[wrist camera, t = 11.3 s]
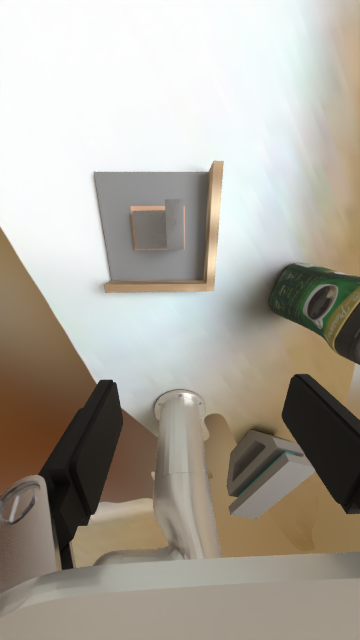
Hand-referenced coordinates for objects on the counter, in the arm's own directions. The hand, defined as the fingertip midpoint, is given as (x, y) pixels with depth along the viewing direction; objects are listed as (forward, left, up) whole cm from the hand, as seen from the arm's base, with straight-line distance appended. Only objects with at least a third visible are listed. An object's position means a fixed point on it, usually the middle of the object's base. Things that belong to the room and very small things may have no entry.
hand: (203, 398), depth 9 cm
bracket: (+9, +4, -23) cm, 25 cm away
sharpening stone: (-46, -20, -25) cm, 56 cm away
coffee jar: (0, -20, -24) cm, 32 cm away
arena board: (+9, +4, -24) cm, 26 cm away
